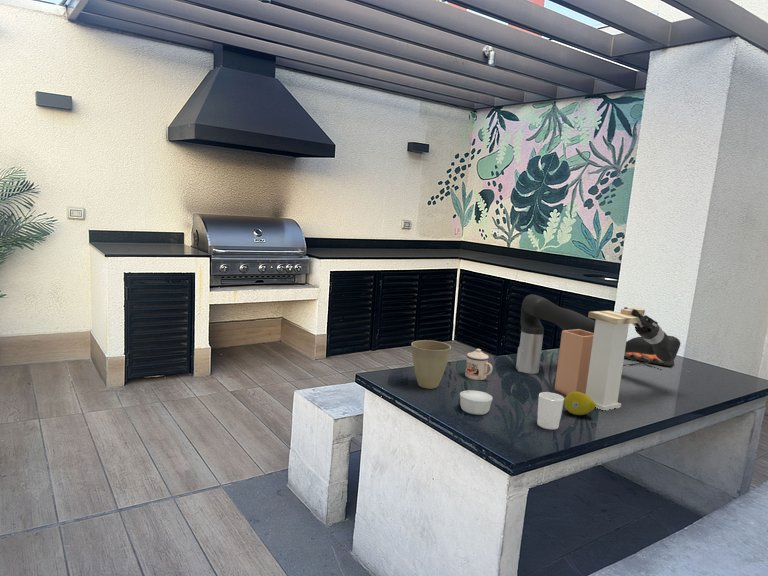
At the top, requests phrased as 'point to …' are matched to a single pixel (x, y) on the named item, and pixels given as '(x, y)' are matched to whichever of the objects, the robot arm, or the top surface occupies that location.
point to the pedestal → (606, 364)
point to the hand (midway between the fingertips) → (628, 310)
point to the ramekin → (475, 402)
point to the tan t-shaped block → (616, 316)
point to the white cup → (549, 410)
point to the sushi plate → (646, 359)
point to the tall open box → (574, 361)
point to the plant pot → (429, 362)
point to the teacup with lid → (477, 365)
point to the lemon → (579, 403)
